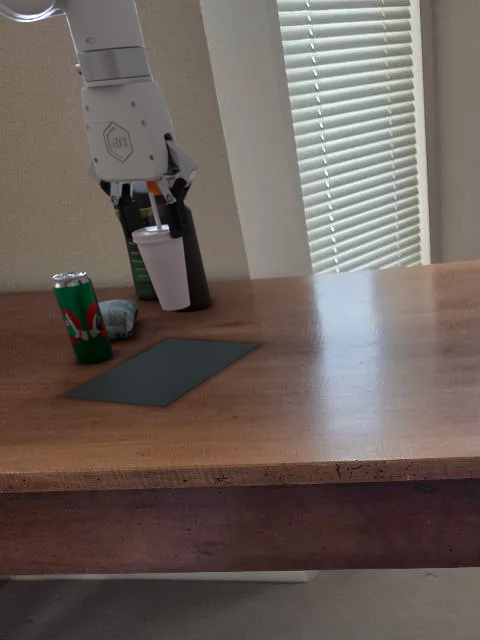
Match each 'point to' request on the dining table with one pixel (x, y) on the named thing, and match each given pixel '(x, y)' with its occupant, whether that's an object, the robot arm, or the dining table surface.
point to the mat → (162, 372)
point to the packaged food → (119, 317)
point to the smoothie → (164, 262)
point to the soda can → (82, 317)
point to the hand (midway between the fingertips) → (158, 234)
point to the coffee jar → (136, 261)
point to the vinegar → (185, 253)
